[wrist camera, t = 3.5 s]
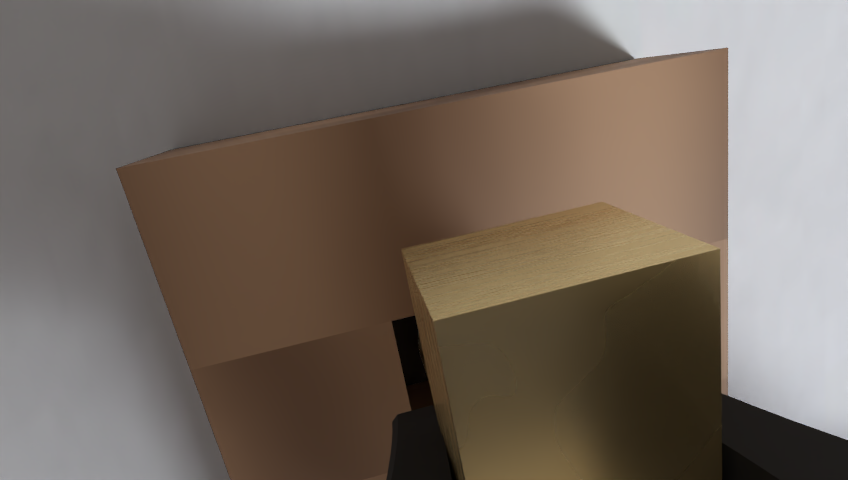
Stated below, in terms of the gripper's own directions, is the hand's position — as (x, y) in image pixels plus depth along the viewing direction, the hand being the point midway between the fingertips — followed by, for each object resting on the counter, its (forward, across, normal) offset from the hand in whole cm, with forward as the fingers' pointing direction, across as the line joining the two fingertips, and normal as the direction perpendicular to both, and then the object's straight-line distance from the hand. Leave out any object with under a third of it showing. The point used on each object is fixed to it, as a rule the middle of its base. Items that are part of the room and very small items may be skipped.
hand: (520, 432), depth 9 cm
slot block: (+5, 0, 0) cm, 5 cm away
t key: (+4, 0, 0) cm, 4 cm away
